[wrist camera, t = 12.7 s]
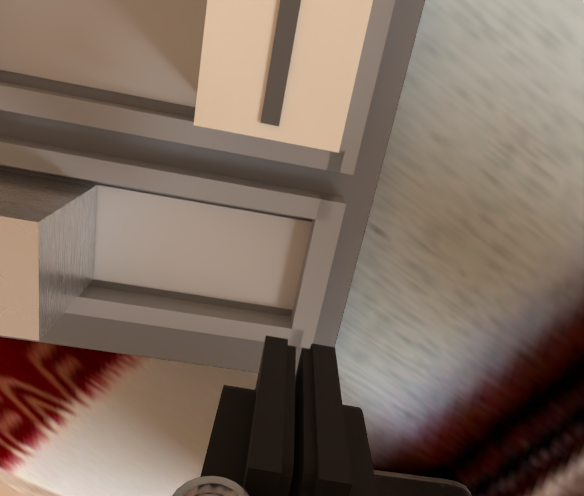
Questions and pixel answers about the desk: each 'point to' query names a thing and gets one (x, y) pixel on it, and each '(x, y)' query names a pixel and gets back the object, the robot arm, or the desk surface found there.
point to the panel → (191, 180)
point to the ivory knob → (281, 68)
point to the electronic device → (416, 485)
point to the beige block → (42, 250)
